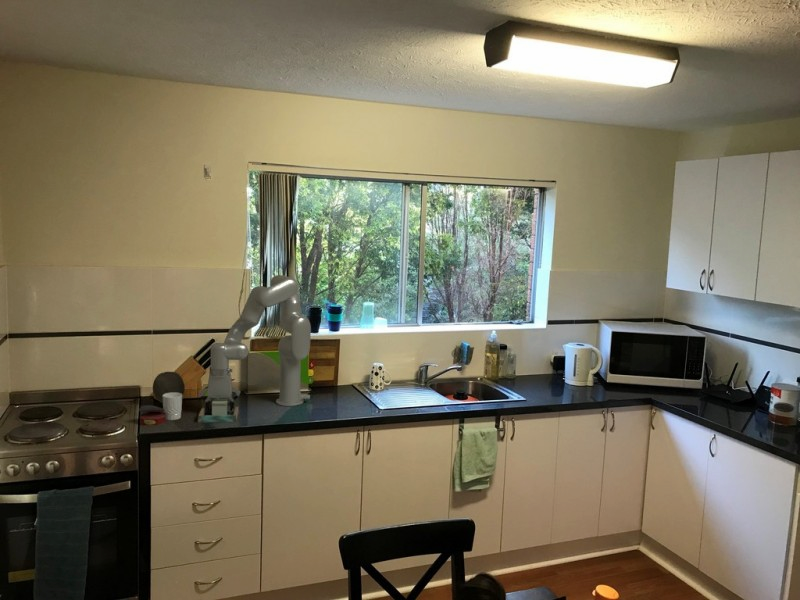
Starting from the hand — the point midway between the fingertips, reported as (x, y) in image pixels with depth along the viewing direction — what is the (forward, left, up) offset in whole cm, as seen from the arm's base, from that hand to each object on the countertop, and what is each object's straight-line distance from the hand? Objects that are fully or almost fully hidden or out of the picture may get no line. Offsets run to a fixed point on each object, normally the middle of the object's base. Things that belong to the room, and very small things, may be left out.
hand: (219, 410), depth 280 cm
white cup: (+19, +4, -2) cm, 20 cm away
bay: (0, +5, -2) cm, 5 cm away
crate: (0, 0, -2) cm, 2 cm away
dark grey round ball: (+24, -16, -2) cm, 29 cm away
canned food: (+26, +9, -2) cm, 28 cm away
